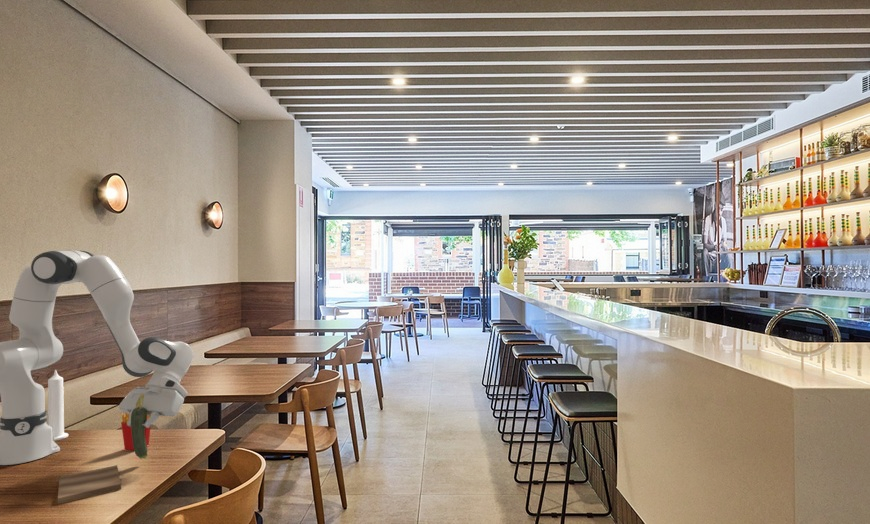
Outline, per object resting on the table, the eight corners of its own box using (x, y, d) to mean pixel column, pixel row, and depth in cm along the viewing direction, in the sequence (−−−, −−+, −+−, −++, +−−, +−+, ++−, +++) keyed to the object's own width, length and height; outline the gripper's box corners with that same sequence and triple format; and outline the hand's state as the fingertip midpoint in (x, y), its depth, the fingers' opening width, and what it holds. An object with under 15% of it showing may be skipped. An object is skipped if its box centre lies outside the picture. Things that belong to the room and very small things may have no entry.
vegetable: (136, 462, 152) (134, 397, 153) (128, 460, 155) (127, 395, 155) (150, 458, 156) (149, 393, 157) (143, 455, 159) (141, 392, 159)
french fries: (123, 452, 167) (122, 413, 167) (120, 449, 170) (120, 411, 170) (154, 445, 173) (153, 408, 173) (151, 442, 176) (150, 405, 176)
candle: (55, 441, 180) (54, 372, 180) (39, 440, 181) (38, 371, 182) (73, 435, 187) (72, 368, 187) (57, 434, 188) (56, 367, 189)
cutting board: (59, 482, 144) (59, 477, 144) (117, 470, 152) (117, 465, 152) (57, 504, 130) (57, 498, 130) (121, 489, 138) (121, 483, 138)
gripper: (129, 380, 165) (103, 419, 156) (182, 383, 160) (158, 423, 150) (141, 391, 169) (116, 429, 160) (192, 393, 164) (170, 433, 155)
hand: (137, 426), depth 155 cm, fingers closed on vegetable, 4 cm apart
